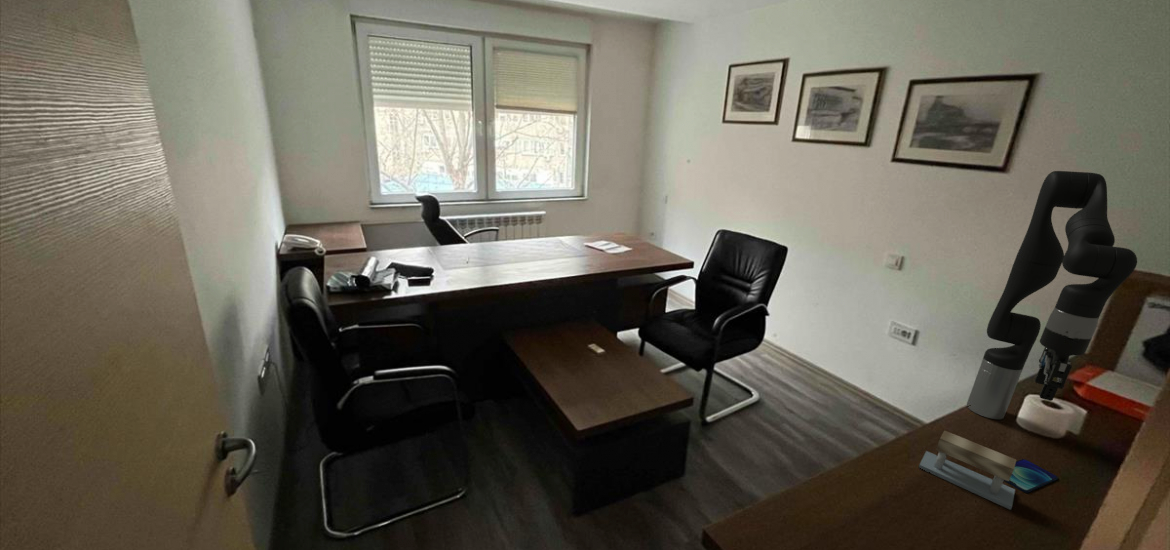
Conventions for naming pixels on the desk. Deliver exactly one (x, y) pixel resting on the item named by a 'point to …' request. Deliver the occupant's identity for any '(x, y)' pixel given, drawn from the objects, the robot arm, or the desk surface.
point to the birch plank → (976, 455)
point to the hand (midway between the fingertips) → (1042, 391)
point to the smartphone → (1029, 476)
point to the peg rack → (968, 479)
